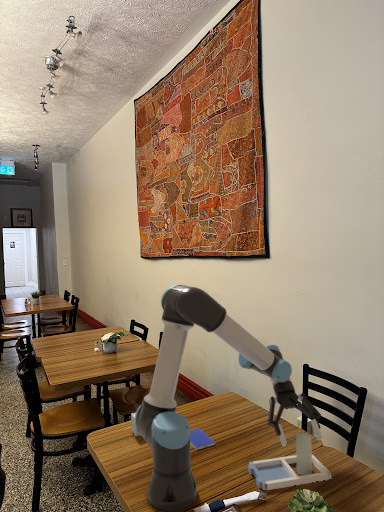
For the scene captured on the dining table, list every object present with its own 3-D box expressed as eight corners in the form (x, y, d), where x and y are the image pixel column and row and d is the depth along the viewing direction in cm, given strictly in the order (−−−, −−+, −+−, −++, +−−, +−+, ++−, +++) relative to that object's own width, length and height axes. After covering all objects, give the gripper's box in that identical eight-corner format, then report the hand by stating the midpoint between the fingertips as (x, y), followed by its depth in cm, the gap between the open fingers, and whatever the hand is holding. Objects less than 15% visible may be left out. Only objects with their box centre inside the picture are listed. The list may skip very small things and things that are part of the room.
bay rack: (260, 491, 113) (260, 485, 113) (246, 468, 125) (246, 462, 125) (331, 479, 118) (331, 473, 118) (311, 458, 130) (311, 452, 130)
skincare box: (135, 437, 148) (134, 419, 148) (131, 430, 153) (130, 413, 153) (149, 433, 151) (149, 415, 150) (144, 427, 156) (144, 410, 156)
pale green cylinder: (307, 477, 119) (306, 441, 119) (293, 471, 123) (293, 435, 123) (314, 471, 123) (314, 436, 122) (301, 465, 126) (301, 430, 126)
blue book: (182, 432, 148) (196, 447, 137) (200, 428, 152) (215, 441, 141) (182, 436, 148) (196, 451, 137) (200, 431, 152) (215, 445, 141)
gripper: (307, 384, 145) (330, 440, 131) (249, 391, 140) (266, 450, 125) (314, 376, 140) (339, 433, 126) (254, 382, 135) (272, 443, 120)
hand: (302, 442), depth 126 cm, fingers open, 13 cm apart
